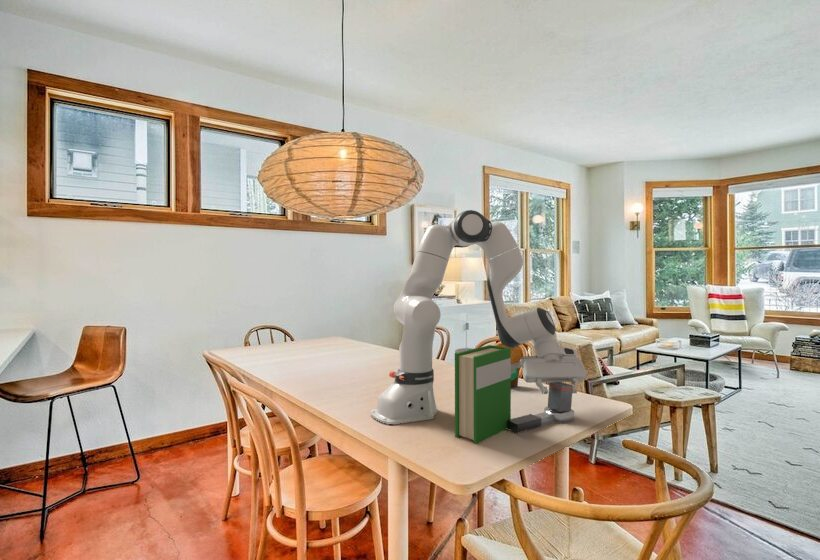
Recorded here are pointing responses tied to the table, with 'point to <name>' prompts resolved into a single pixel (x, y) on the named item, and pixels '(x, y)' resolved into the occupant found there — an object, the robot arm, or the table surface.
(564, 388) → the dark grey block
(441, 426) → the table surface
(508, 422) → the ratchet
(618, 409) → the table surface
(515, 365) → the food container
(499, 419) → the hardback book
